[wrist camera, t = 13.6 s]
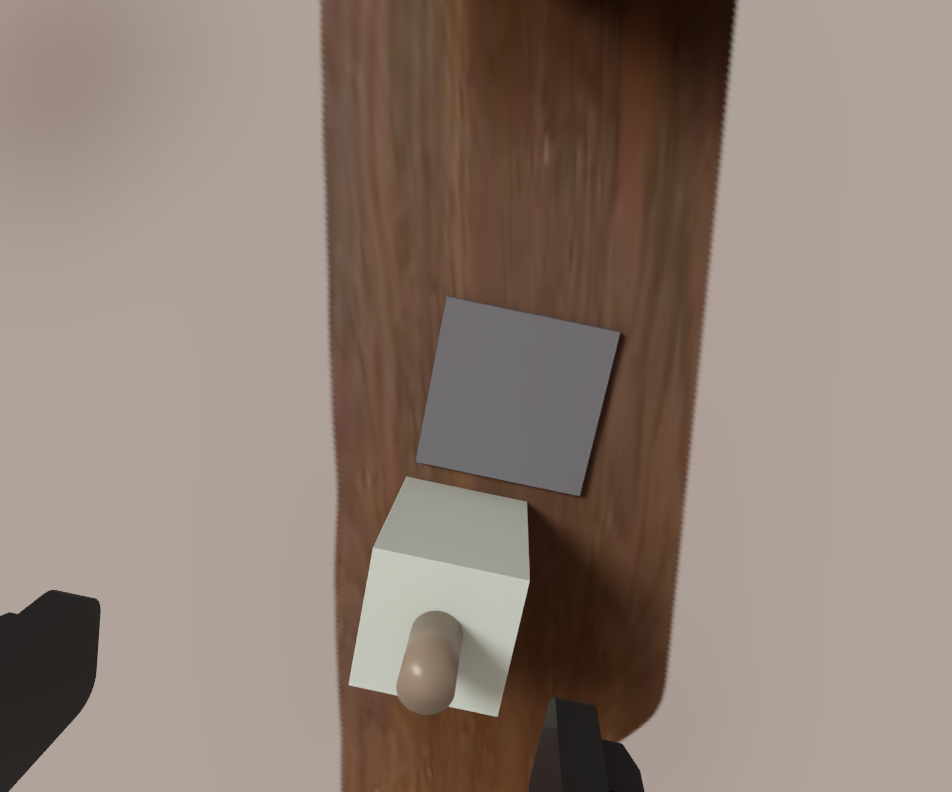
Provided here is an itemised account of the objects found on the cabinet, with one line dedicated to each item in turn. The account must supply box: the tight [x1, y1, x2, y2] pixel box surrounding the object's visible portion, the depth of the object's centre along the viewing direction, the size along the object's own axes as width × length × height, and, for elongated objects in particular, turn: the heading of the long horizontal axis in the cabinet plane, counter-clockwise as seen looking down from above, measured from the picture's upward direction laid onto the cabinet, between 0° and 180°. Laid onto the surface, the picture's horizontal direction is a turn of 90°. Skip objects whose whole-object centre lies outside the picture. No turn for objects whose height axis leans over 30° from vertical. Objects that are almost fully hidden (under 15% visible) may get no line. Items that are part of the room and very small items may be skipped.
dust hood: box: [349, 477, 530, 717], centre depth 43 cm, size 9×9×17 cm
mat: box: [416, 296, 620, 496], centre depth 49 cm, size 12×12×1 cm
